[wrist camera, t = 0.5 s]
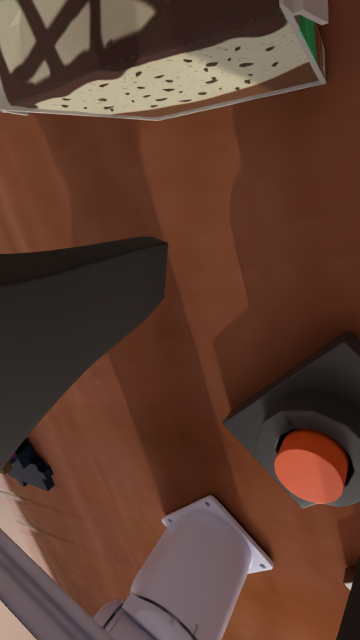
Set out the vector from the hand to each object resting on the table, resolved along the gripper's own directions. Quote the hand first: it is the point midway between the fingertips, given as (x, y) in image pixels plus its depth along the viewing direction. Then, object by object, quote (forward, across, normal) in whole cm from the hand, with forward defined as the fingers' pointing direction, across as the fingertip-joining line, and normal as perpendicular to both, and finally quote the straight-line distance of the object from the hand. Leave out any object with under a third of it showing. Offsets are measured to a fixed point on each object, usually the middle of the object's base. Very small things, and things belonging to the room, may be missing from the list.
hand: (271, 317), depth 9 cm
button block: (+9, -4, +13) cm, 16 cm away
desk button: (+6, -4, +12) cm, 14 cm away
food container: (+12, +8, -6) cm, 16 cm away
